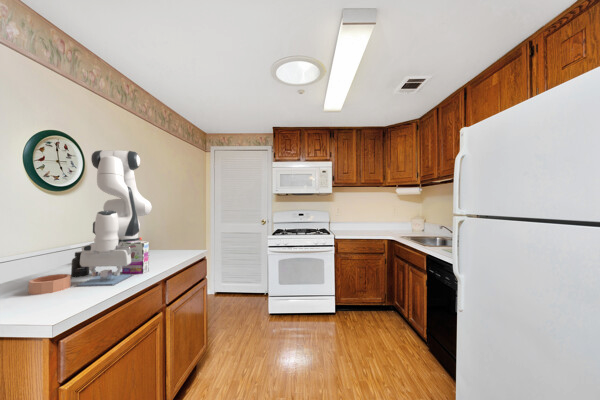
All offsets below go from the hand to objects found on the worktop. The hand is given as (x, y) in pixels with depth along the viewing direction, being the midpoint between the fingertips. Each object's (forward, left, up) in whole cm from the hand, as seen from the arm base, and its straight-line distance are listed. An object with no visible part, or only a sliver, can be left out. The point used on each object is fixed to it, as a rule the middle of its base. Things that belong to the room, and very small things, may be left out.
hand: (106, 275), depth 113 cm
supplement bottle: (-10, -18, -3) cm, 21 cm away
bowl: (+10, -15, -3) cm, 18 cm away
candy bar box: (-13, +6, -3) cm, 15 cm away
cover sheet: (0, 0, -2) cm, 2 cm away
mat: (0, 0, -3) cm, 3 cm away
